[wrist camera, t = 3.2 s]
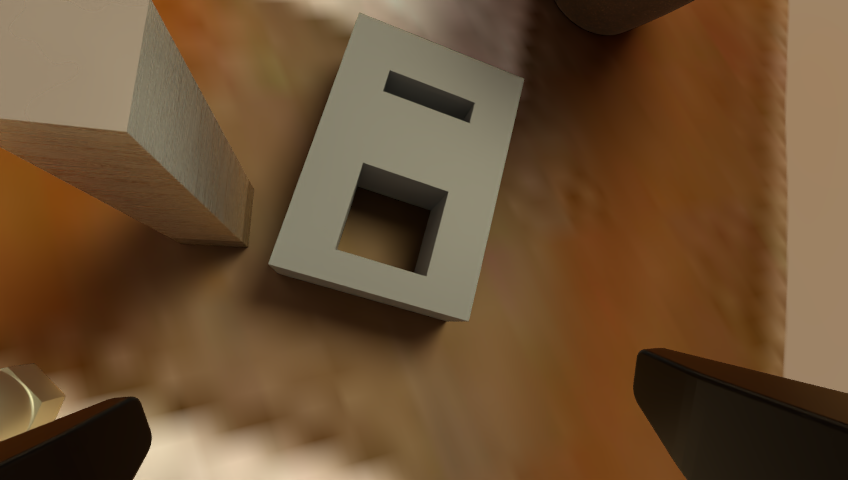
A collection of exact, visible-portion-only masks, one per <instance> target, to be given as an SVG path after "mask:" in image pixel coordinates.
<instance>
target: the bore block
mask: <svg viewBox="0 0 848 480" xmlns="http://www.w3.org/2000/svg"><path fill="white" fill-rule="evenodd" d="M523 82H524V78H521V77H519V76H516V75H514V74H511V73H509V72H506V71H504V70H501V69H499V68H496V67H494V66H491V65H489V64H486V63H484V62H481V61H479V60H476V59H474V58H471V57H469V56H466V55H464V54H461V53H459V52H456V51H454V50H452V49H449V48H447V47H444V46H442V45H439V44H437V43H434V42H432V41H429V40H427V39H424V38H422V37H419V36H417V35H414V34H412V33H409V32H407V31H404V30H402V29H399V28H397V27H394V26H392V25H389V24H387V23H384V22H382V21H379V20H377V19H374V18H372V17H369V16H367V15H364V14H362V13H359V15H358V18H357V20H356V23H355V26H354V29H353V32H352V34H351V37H350V40H349V43H348V45H347V48H346V51H345V54H344V56H343V59H342V62H341V65H340V67H339V70H338V73H337V76H336V78H335V81H334V84H333V87H332V89H331V92H330V95H329V98H328V100H327V103H326V106H325V109H324V112H323V114H322V117H321V120H320V123H319V125H318V128H317V131H316V134H315V136H314V139H313V142H312V145H311V147H310V150H309V153H308V156H307V158H306V161H305V164H304V167H303V169H302V172H301V175H300V178H299V180H298V183H297V186H296V189H295V192H294V194H293V197H292V200H291V203H290V205H289V208H288V211H287V214H286V216H285V219H284V222H283V225H282V227H281V230H280V233H279V236H278V238H277V241H276V244H275V247H274V249H273V252H272V255H271V258H270V260H269V263H268V264H269V265H270V266H271V267H272V268H273V269H274V270H275V271H276V272H277V273H278V274H282V275H285V276H289V277H292V278H296V279H299V280H303V281H306V282H310V283H313V284H317V285H320V286H324V287H327V288H331V289H334V290H338V291H342V292H345V293H349V294H352V295H356V296H359V297H363V298H366V299H370V300H373V301H377V302H380V303H384V304H387V305H391V306H394V307H398V308H402V309H405V310H409V311H412V312H416V313H419V314H423V315H426V316H430V317H433V318H437V319H440V320H444V321H469V318H470V313H471V309H472V305H473V300H474V296H475V292H476V287H477V283H478V279H479V274H480V270H481V265H482V261H483V257H484V252H485V248H486V244H487V239H488V235H489V231H490V226H491V222H492V217H493V213H494V209H495V204H496V200H497V196H498V191H499V187H500V182H501V178H502V174H503V169H504V165H505V161H506V156H507V152H508V148H509V143H510V139H511V134H512V130H513V126H514V121H515V117H516V113H517V108H518V104H519V100H520V95H521V91H522V86H523ZM357 187H360V188H363V189H367V190H370V191H373V192H376V193H379V194H382V195H385V196H388V197H391V198H394V199H397V200H400V201H403V202H406V203H409V204H412V205H415V206H418V207H421V208H424V209H427V210H430V215H429V219H428V222H427V226H426V230H425V233H424V237H423V241H422V245H421V248H420V252H419V256H418V259H417V263H416V267H415V270H414V273H413V272H410V271H406V270H403V269H400V268H396V267H393V266H390V265H386V264H383V263H380V262H376V261H373V260H370V259H366V258H363V257H360V256H356V255H353V254H350V253H346V252H343V251H340V250H337V248H338V245H339V242H340V239H341V236H342V233H343V230H344V227H345V224H346V221H347V217H348V214H349V211H350V208H351V205H352V202H353V199H354V196H355V193H356V190H357Z"/></svg>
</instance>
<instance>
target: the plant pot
mask: <svg viewBox="0 0 848 480" xmlns="http://www.w3.org/2000/svg"><path fill="white" fill-rule="evenodd" d="M692 1H694V0H555V2H556V3H557V5H558V7H559V8H560V9H561V11H562V12H563V13H564V14H565V15H566V16H567V17H568V18H569V19H570V20H571V21H572V22H574V23H575V24H576V25H578V26H580V27H581V28H583V29H585V30H587V31H590V32H593V33H596V34H600V35H616V34H620V33H623V32H626V31H628V30H631V29H633V28H636V27H638V26H640V25H643V24H645V23H647V22H650V21H652V20H654V19H657V18H659V17H661V16H663V15H665V14H668V13H670V12H672V11H674V10H676V9H678V8H680V7H682V6H684V5H686V4H688V3H690V2H692Z"/></svg>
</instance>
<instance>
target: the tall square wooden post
mask: <svg viewBox="0 0 848 480" xmlns="http://www.w3.org/2000/svg"><path fill="white" fill-rule="evenodd" d="M0 147H2V148H3V149H5V150H7V151H9V152H11V153H13V154H15V155H16V156H18V157H20V158H22V159H24V160H26V161H28V162H29V163H31V164H33V165H35V166H37V167H39V168H41V169H43V170H44V171H46V172H48V173H50V174H52V175H54V176H56V177H57V178H59V179H61V180H63V181H65V182H67V183H69V184H70V185H72V186H74V187H76V188H78V189H80V190H82V191H84V192H85V193H87V194H89V195H91V196H93V197H95V198H97V199H98V200H100V201H102V202H104V203H106V204H108V205H110V206H111V207H113V208H115V209H117V210H119V211H121V212H123V213H125V214H126V215H128V216H130V217H132V218H134V219H136V220H138V221H139V222H141V223H143V224H145V225H147V226H149V227H151V228H152V229H154V230H156V231H158V232H160V233H162V234H164V235H166V236H167V237H169V238H171V239H173V240H175V241H177V242H179V243H180V244H195V245H214V246H233V247H248V241H249V232H250V222H251V212H252V203H253V193H254V189H253V187H252V185H251V183H250V181H249V179H248V177H247V176H246V174H245V172H244V170H243V168H242V166H241V165H240V163H239V161H238V159H237V157H236V155H235V154H234V152H233V150H232V148H231V146H230V144H229V142H228V141H227V139H226V137H225V135H224V133H223V131H222V130H221V128H220V126H219V124H218V122H217V120H216V118H215V117H214V115H213V113H212V111H211V109H210V107H209V106H208V104H207V102H206V100H205V98H204V96H203V95H202V93H201V91H200V89H199V87H198V85H197V83H196V82H195V80H194V78H193V76H192V74H191V72H190V71H189V69H188V67H187V65H186V63H185V61H184V60H183V58H182V56H181V54H180V52H179V50H178V48H177V47H176V45H175V43H174V41H173V39H172V37H171V36H170V34H169V32H168V30H167V28H166V26H165V25H164V23H163V21H162V19H161V17H160V15H159V13H158V12H157V10H156V8H155V6H154V4H153V2H152V1H151V0H0Z"/></svg>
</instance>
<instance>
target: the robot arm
mask: <svg viewBox="0 0 848 480" xmlns="http://www.w3.org/2000/svg"><path fill="white" fill-rule="evenodd" d="M633 390H634V395H635V398H636V401H637V403H638V405H639V406H640V408H641V409H642V411H643V413H644V414H645V416H646V417H647V419H648V421H649V422H650V424H651V425H652V427H653V429H654V430H655V432H656V433H657V435H658V436H659V438H660V440H661V441H662V443H663V444H664V446H665V448H666V449H667V451H668V452H669V454H670V456H671V457H672V459H673V460H674V462H675V463H676V465H677V466H678V468H679V469H680V471H681V472H682V473H683V475H684V476H685V477H686V479H687V480H848V393H844V392H840V391H836V390H832V389H827V388H824V387H820V386H816V385H811V384H807V383H803V382H799V381H795V380H791V379H787V378H783V377H779V376H775V375H771V374H767V373H763V372H759V371H754V370H750V369H746V368H742V367H738V366H734V365H730V364H726V363H722V362H718V361H714V360H710V359H706V358H701V357H697V356H693V355H689V354H685V353H681V352H677V351H673V350H669V349H665V348H653V349H643V350H641V351H640V352H639V353H638V355H637V360H636V368H635V376H634V384H633ZM151 440H152V436H151V430H150V427H149V425H148V422H147V419H146V416H145V413H144V410H143V407H142V405H141V402H140V401H139V399H137V398H136V397H120V398H112V399H108V400H106V401H103V402H101V403H98V404H95V405H93V406H90V407H88V408H85V409H83V410H80V411H77V412H75V413H72V414H70V415H67V416H65V417H62V418H59V419H57V420H54V421H52V422H49V423H47V424H44V425H41V426H39V427H36V428H34V429H31V430H29V431H26V432H24V433H21V434H18V435H16V436H13V437H11V438H8V439H6V440H3V441H0V480H133V479H134V477H135V475H136V473H137V472H138V470H139V468H140V466H141V464H142V462H143V460H144V459H145V457H146V455H147V453H148V451H149V449H150V445H151Z"/></svg>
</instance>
